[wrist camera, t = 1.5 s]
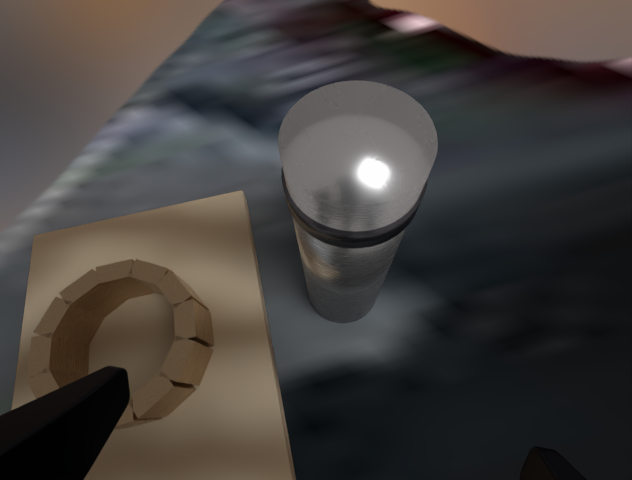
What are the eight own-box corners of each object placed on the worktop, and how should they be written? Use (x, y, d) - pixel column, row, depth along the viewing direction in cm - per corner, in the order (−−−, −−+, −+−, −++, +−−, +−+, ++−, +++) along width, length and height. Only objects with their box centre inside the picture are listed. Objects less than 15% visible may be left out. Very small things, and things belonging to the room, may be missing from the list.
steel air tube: (388, 314, 22) (469, 185, 9) (315, 332, 21) (293, 226, 9) (366, 248, 24) (407, 65, 11) (299, 264, 23) (262, 95, 11)
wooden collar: (220, 404, 18) (201, 404, 16) (65, 444, 18) (18, 450, 15) (205, 266, 22) (188, 246, 19) (75, 296, 21) (37, 279, 19)
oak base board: (298, 494, 18) (296, 502, 16) (15, 573, 17) (-12, 588, 16) (246, 201, 25) (242, 190, 24) (50, 244, 25) (33, 235, 23)
